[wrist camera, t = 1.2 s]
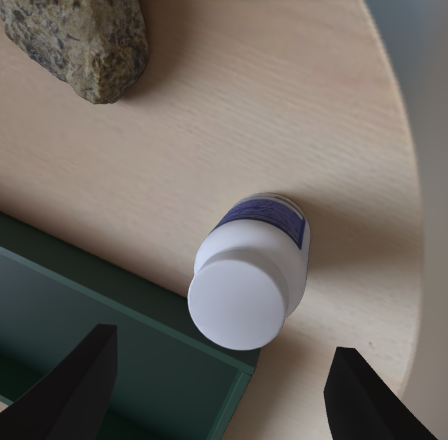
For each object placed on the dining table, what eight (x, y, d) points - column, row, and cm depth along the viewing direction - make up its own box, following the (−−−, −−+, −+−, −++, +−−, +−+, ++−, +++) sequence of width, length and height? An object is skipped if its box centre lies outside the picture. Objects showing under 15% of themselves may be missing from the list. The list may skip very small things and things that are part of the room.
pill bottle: (213, 205, 23) (152, 258, 15) (296, 180, 22) (279, 226, 13) (240, 282, 24) (197, 372, 16) (321, 264, 23) (320, 355, 14)
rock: (187, 3, 20) (152, -24, 16) (114, 120, 23) (69, 123, 19) (87, -83, 20) (27, -132, 16) (27, 44, 23) (-38, 30, 19)
